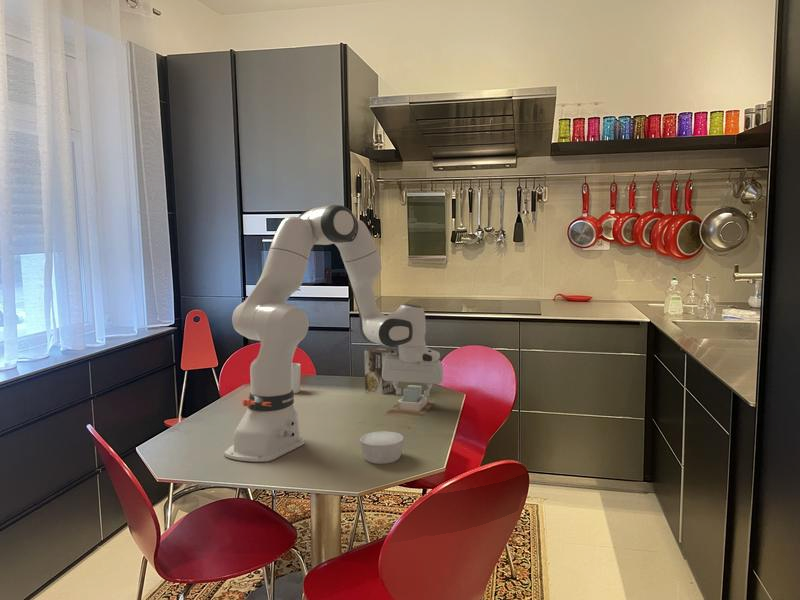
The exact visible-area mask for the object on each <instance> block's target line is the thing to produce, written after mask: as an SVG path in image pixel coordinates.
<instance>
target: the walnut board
mask: <svg viewBox="0 0 800 600" xmlns="http://www.w3.org/2000/svg"><path fill="white" fill-rule="evenodd" d="M436 402H437V400H432V399H431V400H430V399H428V403H427V404H426V405H425V406H424V407H423V408H422V409H421V410H420V411H412V410H400V409H397V402H396V403H395V404H394V405H393V406H391V408H390V409H388V410H387V411H386V412H385V413H384V414H383V416H390V417H403V418H413V419H414V418H415V419H422V418H423V416H424V415H425V414H427V412H428V411H429V409H431V408H432V406H433V405H435V403H436Z"/></svg>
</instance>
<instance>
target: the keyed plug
mask: <svg viewBox="0 0 800 600" xmlns="http://www.w3.org/2000/svg"><path fill="white" fill-rule="evenodd" d="M422 386H423V385H415V384H408V385H407V386H406V387H405V388H403V389H402V397H403V401H404V402H417V403H418V402H419V401H420V400H421V399H422V395H423V392H422V391H423V387H422Z"/></svg>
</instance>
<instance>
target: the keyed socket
mask: <svg viewBox="0 0 800 600" xmlns="http://www.w3.org/2000/svg"><path fill="white" fill-rule="evenodd" d="M428 397H429V396H428ZM428 397H424V394H422V399H421V400H420V401H419V402H418V403H417V402H404V401H403V396H401V398H399V399H398V400H397V401H396V403H397V409H400V410H412V411H420V410H421V409H422V408H423V407H424V406H425V405H426V404H427V403H428V400H429V399H428Z"/></svg>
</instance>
